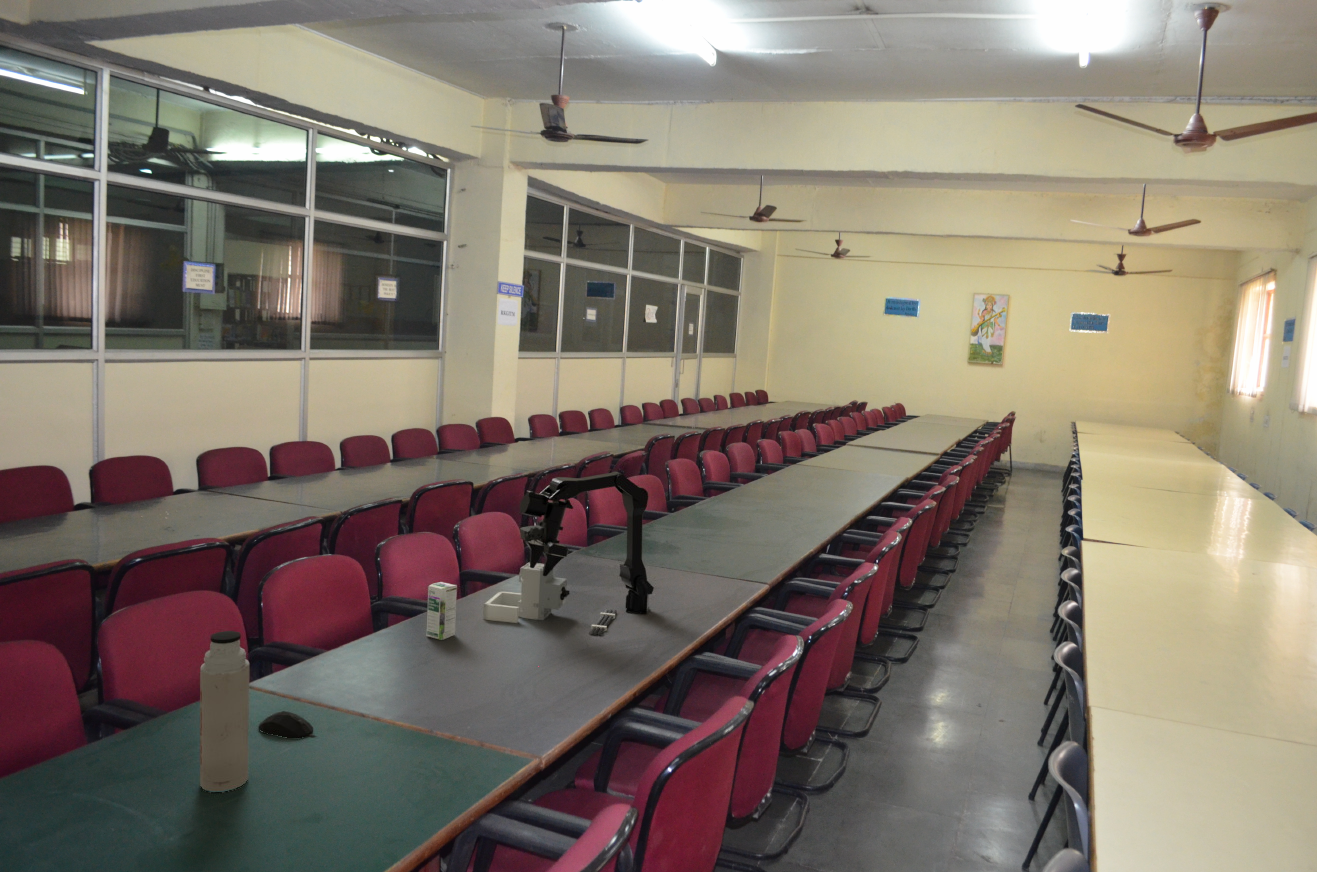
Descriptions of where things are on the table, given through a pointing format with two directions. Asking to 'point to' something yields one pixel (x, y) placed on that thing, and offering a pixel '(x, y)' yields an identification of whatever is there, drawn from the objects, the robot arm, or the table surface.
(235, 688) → the thermos bottle
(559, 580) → the circuit breaker
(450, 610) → the syrup box
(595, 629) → the dressed cords
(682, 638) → the table surface
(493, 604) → the mounting bay
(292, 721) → the gaming mouse
